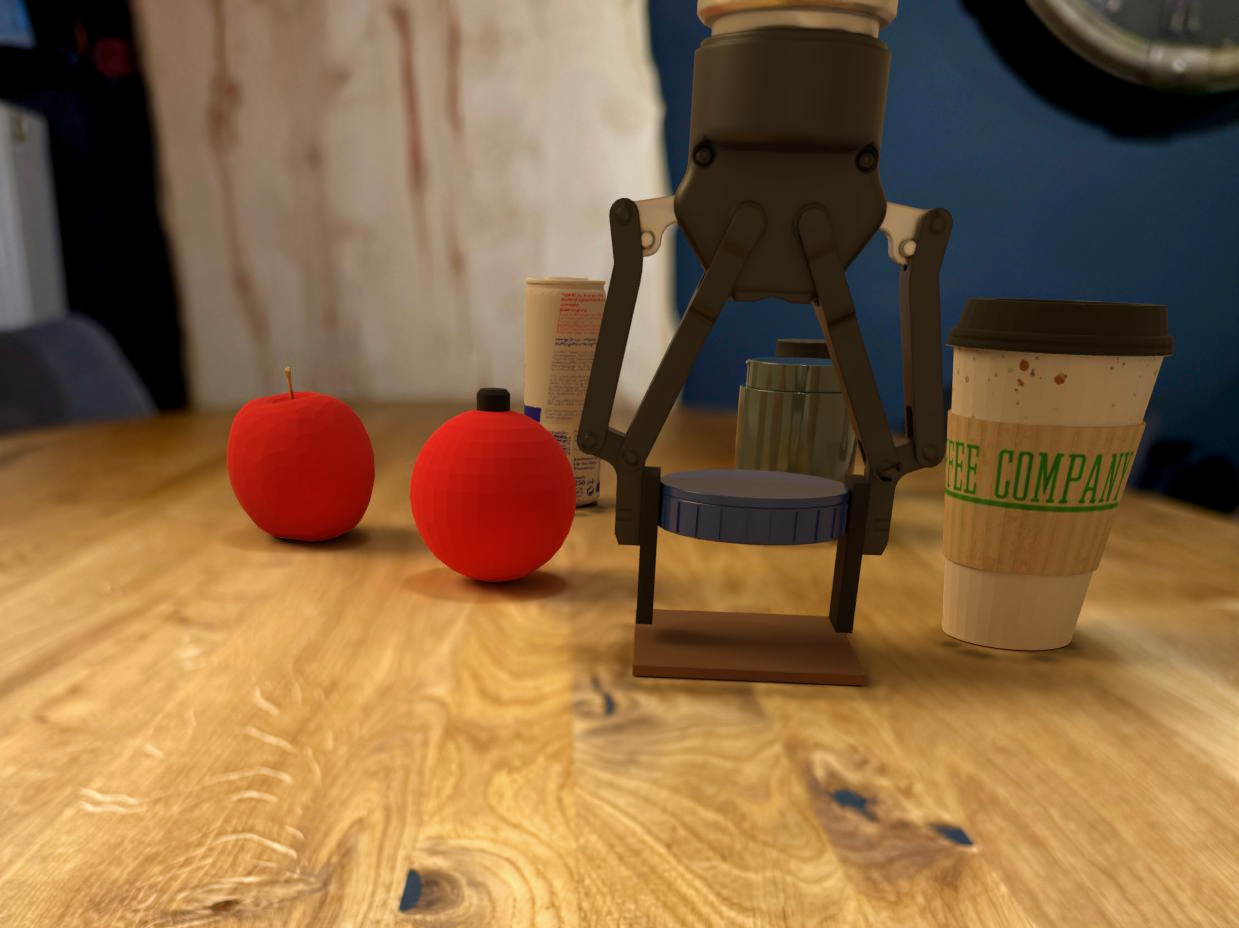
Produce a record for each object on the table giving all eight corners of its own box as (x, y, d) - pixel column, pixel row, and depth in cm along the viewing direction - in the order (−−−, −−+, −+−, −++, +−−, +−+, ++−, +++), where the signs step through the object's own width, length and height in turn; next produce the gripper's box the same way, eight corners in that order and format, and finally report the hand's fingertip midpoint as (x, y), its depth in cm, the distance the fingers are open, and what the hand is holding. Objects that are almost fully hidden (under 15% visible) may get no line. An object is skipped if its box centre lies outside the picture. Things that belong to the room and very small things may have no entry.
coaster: (835, 625, 63) (836, 616, 63) (864, 686, 55) (865, 674, 54) (635, 617, 64) (636, 607, 64) (631, 675, 55) (632, 664, 55)
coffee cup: (874, 636, 62) (920, 297, 55) (942, 599, 69) (990, 296, 63) (1081, 673, 57) (1158, 307, 50) (1131, 629, 64) (1203, 305, 58)
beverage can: (611, 499, 95) (619, 278, 88) (580, 511, 90) (586, 278, 84) (544, 492, 97) (547, 275, 90) (510, 503, 92) (511, 275, 86)
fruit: (206, 531, 80) (189, 361, 76) (329, 517, 86) (320, 357, 81) (280, 557, 74) (266, 373, 70) (408, 540, 80) (403, 368, 75)
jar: (838, 519, 90) (857, 358, 85) (854, 541, 83) (875, 367, 78) (726, 515, 91) (738, 354, 86) (732, 537, 83) (746, 363, 79)
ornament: (603, 591, 69) (610, 394, 64) (448, 605, 65) (445, 397, 61) (532, 557, 76) (534, 378, 71) (389, 569, 72) (382, 380, 68)
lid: (710, 504, 62) (713, 463, 61) (875, 526, 58) (881, 482, 57) (619, 527, 56) (621, 483, 55) (797, 554, 51) (802, 506, 51)
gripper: (1045, 57, 52) (955, 610, 62) (528, 43, 52) (522, 592, 62) (1104, 26, 45) (991, 653, 55) (509, 11, 46) (505, 632, 56)
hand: (742, 620), depth 59 cm, fingers closed on lid, 8 cm apart
